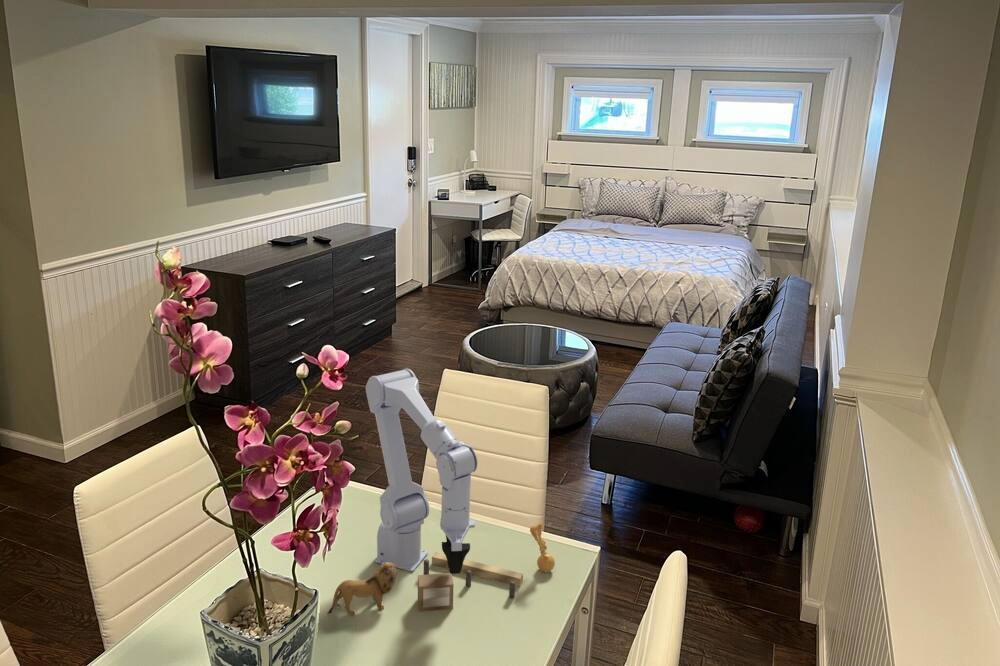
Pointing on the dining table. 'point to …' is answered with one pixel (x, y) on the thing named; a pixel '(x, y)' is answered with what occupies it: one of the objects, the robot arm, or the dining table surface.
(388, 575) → the lion figurine
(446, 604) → the wooden box
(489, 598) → the dining table surface
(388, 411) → the robot arm
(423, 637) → the dining table surface
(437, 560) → the ledge
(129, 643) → the dining table surface
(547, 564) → the figurine
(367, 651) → the dining table surface
